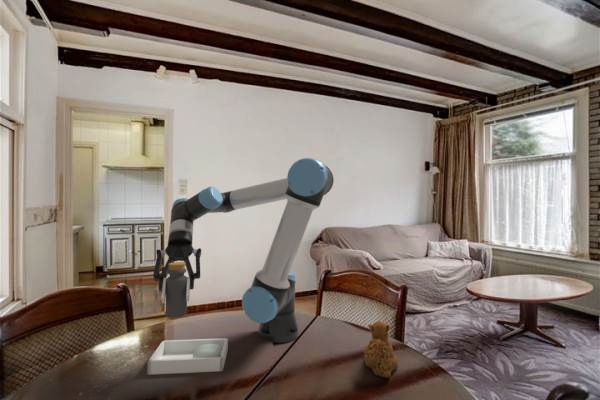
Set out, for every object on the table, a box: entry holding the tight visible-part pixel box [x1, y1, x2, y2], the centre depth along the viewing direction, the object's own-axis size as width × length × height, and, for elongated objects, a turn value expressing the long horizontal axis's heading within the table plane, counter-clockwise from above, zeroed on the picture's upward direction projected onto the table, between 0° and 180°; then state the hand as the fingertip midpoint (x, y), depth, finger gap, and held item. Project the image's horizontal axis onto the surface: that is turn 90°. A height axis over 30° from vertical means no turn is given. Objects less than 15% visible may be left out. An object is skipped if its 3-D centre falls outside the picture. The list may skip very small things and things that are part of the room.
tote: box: [146, 337, 229, 376], centre depth 91 cm, size 20×13×4 cm, turn 97°
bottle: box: [165, 261, 188, 319], centre depth 91 cm, size 6×6×15 cm
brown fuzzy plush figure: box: [363, 320, 399, 378], centre depth 90 cm, size 10×14×13 cm
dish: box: [193, 344, 221, 358], centre depth 92 cm, size 8×8×3 cm
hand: (175, 299), depth 88 cm, fingers closed on bottle, 6 cm apart
